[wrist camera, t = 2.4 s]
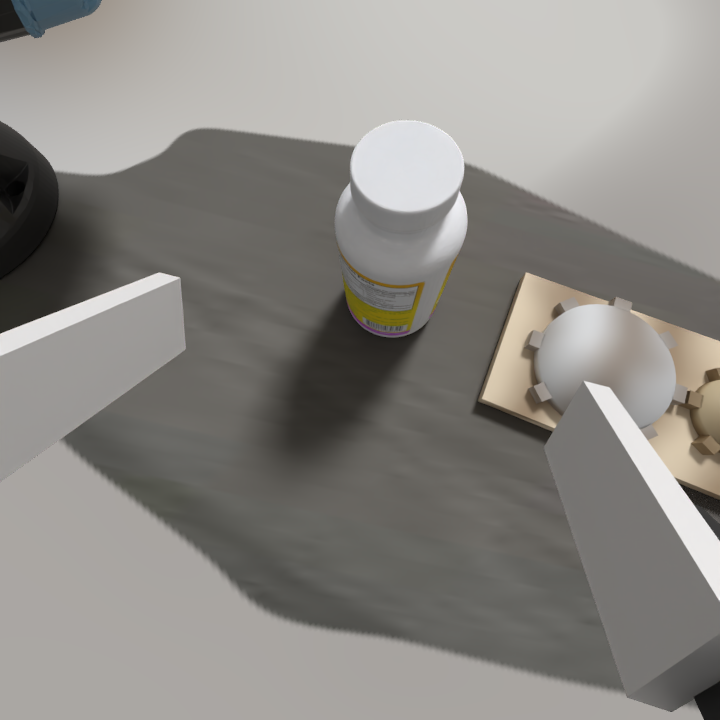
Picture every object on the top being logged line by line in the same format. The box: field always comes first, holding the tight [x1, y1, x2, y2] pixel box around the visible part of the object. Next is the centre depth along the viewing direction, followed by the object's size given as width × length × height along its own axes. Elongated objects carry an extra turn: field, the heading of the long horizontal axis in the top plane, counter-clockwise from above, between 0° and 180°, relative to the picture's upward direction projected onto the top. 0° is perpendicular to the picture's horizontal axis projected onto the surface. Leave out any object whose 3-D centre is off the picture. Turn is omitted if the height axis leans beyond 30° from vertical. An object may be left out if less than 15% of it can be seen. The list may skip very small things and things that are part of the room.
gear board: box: [478, 273, 720, 500], centre depth 23 cm, size 19×10×4 cm, turn 67°
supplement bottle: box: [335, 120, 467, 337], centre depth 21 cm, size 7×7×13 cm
